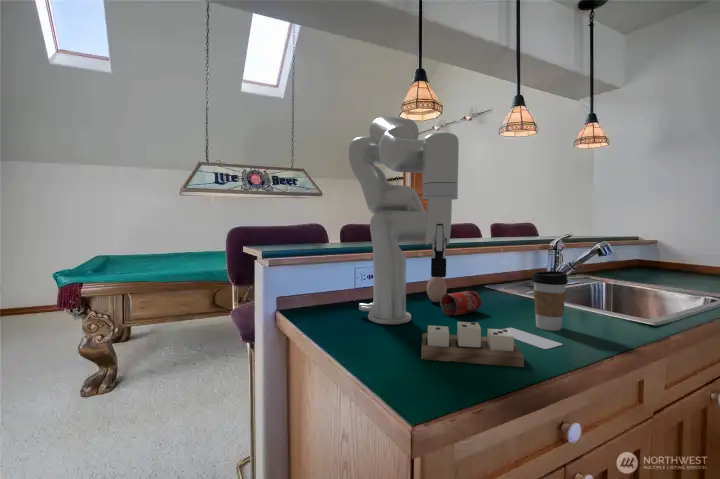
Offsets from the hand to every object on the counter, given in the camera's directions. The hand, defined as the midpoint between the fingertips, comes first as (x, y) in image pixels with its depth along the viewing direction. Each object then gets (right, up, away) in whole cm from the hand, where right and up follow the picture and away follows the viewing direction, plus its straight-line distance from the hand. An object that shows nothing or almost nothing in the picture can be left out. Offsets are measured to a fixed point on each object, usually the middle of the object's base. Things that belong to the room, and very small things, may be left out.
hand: (438, 276), depth 78 cm
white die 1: (0, -16, +1) cm, 16 cm away
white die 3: (+13, -16, -2) cm, 20 cm away
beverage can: (+14, -15, +32) cm, 38 cm away
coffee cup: (+34, -16, +17) cm, 41 cm away
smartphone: (+24, -17, +9) cm, 30 cm away
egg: (+10, -14, +46) cm, 50 cm away
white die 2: (+6, -15, -1) cm, 16 cm away
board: (+6, -17, 0) cm, 18 cm away
